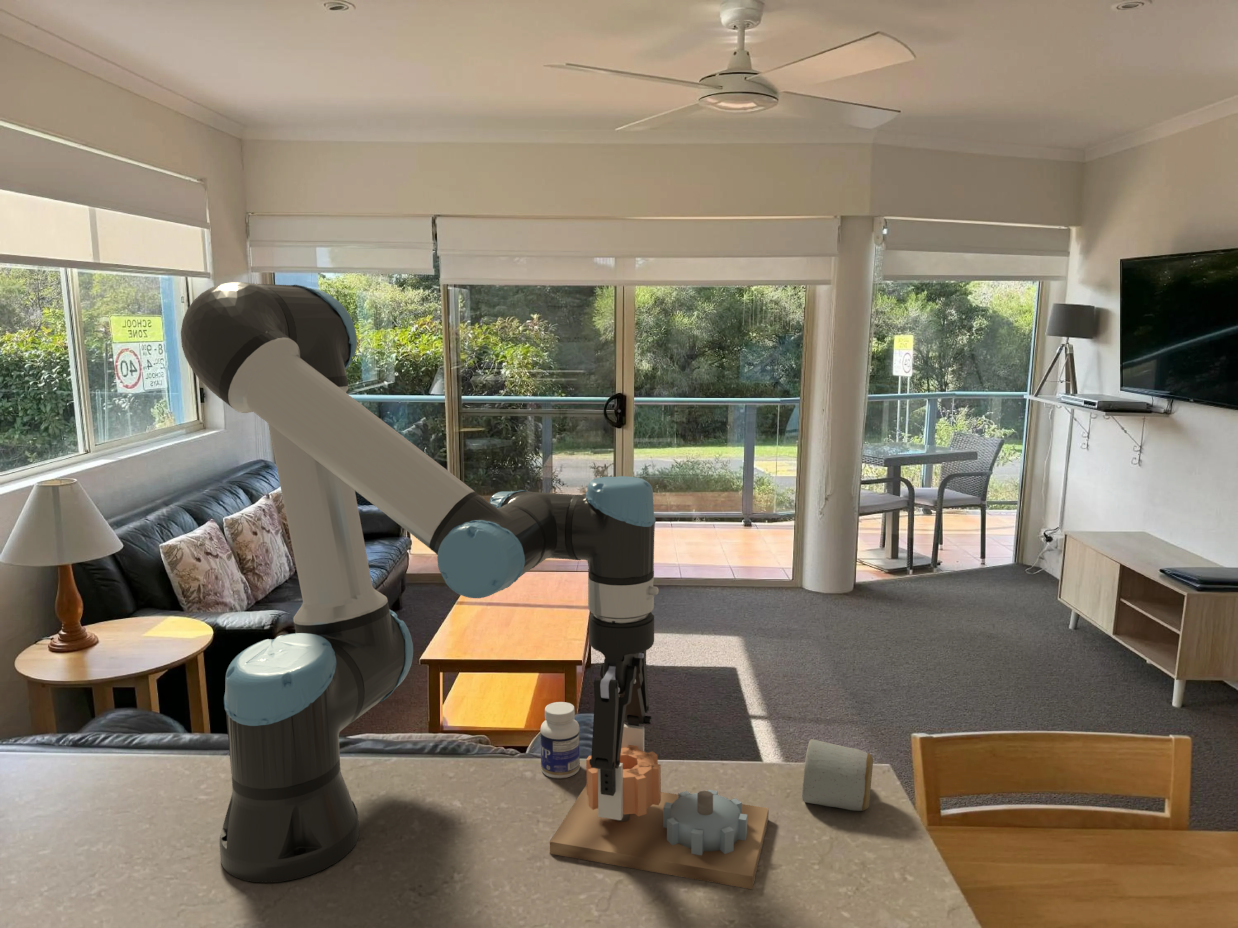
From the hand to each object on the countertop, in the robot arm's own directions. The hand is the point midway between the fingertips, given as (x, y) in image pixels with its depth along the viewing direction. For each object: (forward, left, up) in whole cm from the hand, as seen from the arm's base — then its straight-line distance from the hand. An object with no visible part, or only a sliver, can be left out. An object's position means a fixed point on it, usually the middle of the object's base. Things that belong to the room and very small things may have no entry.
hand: (622, 795), depth 105 cm
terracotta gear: (0, 0, 0) cm, 0 cm away
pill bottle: (-12, +11, -5) cm, 17 cm away
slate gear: (+10, 0, -3) cm, 10 cm away
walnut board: (+5, 0, -4) cm, 7 cm away
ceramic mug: (+24, +15, -5) cm, 28 cm away
